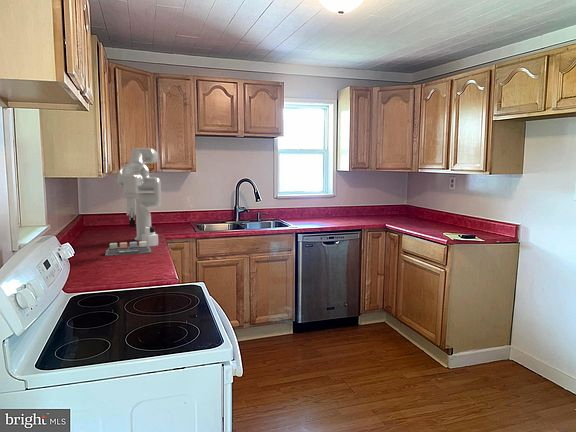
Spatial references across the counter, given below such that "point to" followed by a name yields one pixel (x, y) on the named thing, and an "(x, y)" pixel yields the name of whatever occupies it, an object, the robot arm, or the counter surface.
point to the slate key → (133, 244)
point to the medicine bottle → (150, 237)
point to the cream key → (142, 243)
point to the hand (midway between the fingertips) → (132, 226)
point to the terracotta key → (123, 245)
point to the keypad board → (128, 251)
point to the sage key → (113, 245)
